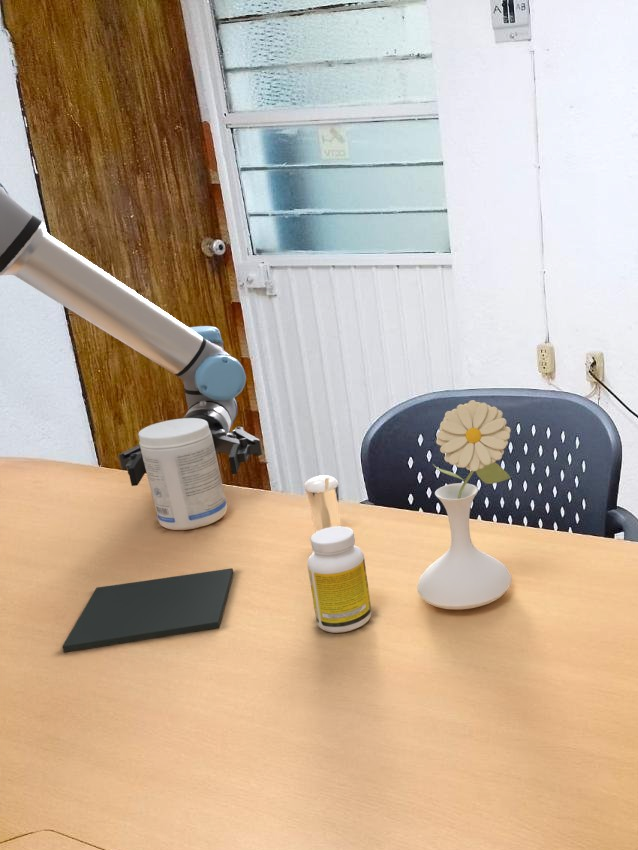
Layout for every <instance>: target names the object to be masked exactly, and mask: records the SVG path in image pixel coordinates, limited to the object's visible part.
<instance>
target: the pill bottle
mask: <svg viewBox="0 0 638 850" xmlns="http://www.w3.org/2000/svg"><path fill="white" fill-rule="evenodd" d="M310 545H311V549H312V553H310V555H309V557H308V559H307V570H308V577H309V578H308V579H309V584H310V590H311V597H312V602H313V609H314V614H315V619H316V623H317V626H318V628H320V629H321V630H323V631H324V632H327V633H333V634H335V633H336V634H337V633H346V632H350V631H354V630H356V629H358V628H360V627H363V626H365V624H366V623H368V621H370V619H371V617H372V606H371V605H372V604H371V599H370V598H371V597H370V590H369V583H368V576H367V575H368V574H367V568H366V562H365V561H366V559H365V556H364V552H363V551H362V549H361V548H360V547H359V546H358V545H356V537H355V532H354V530H353V529H352V528H351V527H348V526H341V525H340V526H336V527H329V528H325V529H321V530H319V531H317V532H315V531H314V532H313V534H312V535H311V536H310Z"/></svg>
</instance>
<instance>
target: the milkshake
mask: <svg viewBox="0 0 638 850" xmlns="http://www.w3.org/2000/svg"><path fill="white" fill-rule="evenodd" d="M303 488H304V492H305V496H306V500H307V503H308V507H309V512H310V515H311V520H312V523H313V528H314V533H315V532H317V531H319V530H321V529H325V528H329V527H336V526H341V512H340V493H339V492H340V491H339V488H340V487H339V481H338V480H337V478H336V477H334V476H331V475H326V474H320V475H316V476H313V477H311V478H309V479H308V480H306V482H305V483H304V485H303Z"/></svg>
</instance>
